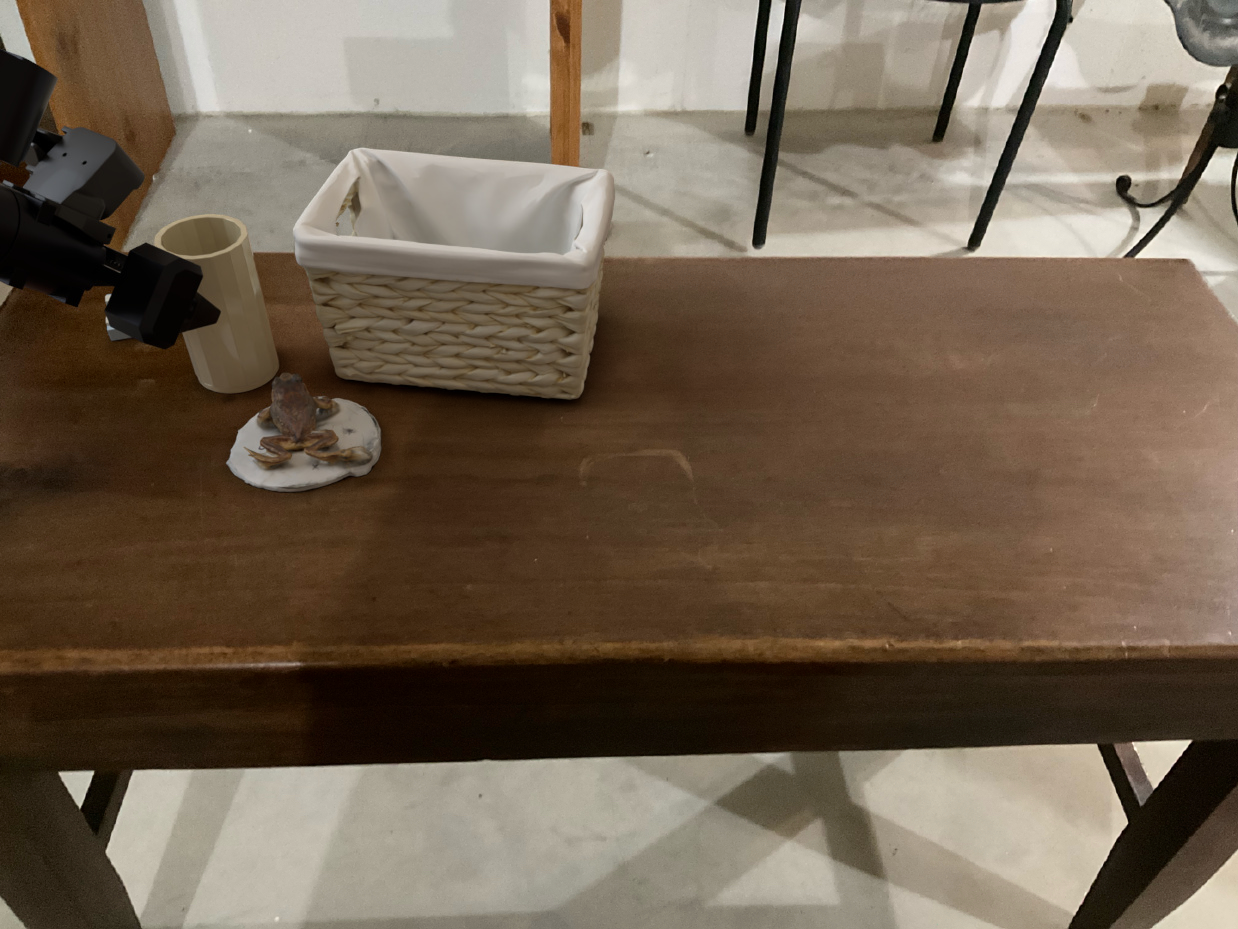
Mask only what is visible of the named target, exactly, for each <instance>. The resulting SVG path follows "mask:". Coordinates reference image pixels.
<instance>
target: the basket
mask: <svg viewBox="0 0 1238 929" xmlns="http://www.w3.org/2000/svg"><path fill="white" fill-rule="evenodd" d="M615 199H616V190H615V178H614V175H613V174H612V173H611V172H610V171H609V170H607V169H605V168H588V167H580V166H572V165H564V164H563V165H562V164H553V163H552V164H551V163H543V162H531V161H530V162H529V161H516V160H501V159H489V158H477V157H476V158H475V157H466V156H465V157H464V156H463V157H462V156H455V155H454V156H453V155H442V154H431V153H425V152H423V153H422V152H411V151H401V150H390V149H378V148H377V149H376V148H369V147H358V148H353V149H350V150H349V151H348V153H347V155H346V156H345V157H344V158H343V159H342V160H341V161H340V162H339V163H338V164H337V166H336V167H335V168H334V170H333V171H332V172H331V173H330V175H329V176H328V178H327V179H326V180H325V182H324V183H323V185H322V186H321V187H320V188H319V190H318V191H317V193H316V194H315V195H314V197H313V198H312V199H311V201H310V202H309V203H308V205H307V206H306V207H305V209H304V210H303V211H302V213H301V215H300V216H299V217H298V219H297V221H296V222H295V224H294V226H293V228H292V236H293V239H294V256H295V260H296V263H297V264H298V265H299V266H300V267H302V268H303V269H304V271H305V272H306V276H307V278H308V284H309V288H310V290H311V292H312V295H311V296H312V299H313V302H314V304H315V313H316V314H315V315H316V318H317V320H318V322H320V324H321V327H322V335H323V339H324V341H325V342H326V343H327V345H328V347H329V348H328V352H329V356H330V359H331V362H332V365H333V367H334V372H335V375H336V376H337V377H339V378H341V379H344V380H352V381H360V382H365V383H371V384H373V383H383V384H384V383H385V384H391V385H395V386H400V385H407V386H416V387H420V388H425V387H427V388H440V389H446V390H449V391H451V390H452V391H453V390H461V391H462V390H463V391H474V392H480V393H485V394H488V393H493V394H494V393H496V394H508V395H510V396H517V397H518V396H528V397H539V398H543V399H560V400H561V399H562V400H569V401H571V400H576V399H577V400H578V399H579V398H580V397H581V395H582V394H583V392H584V389H585V381H586V379H587V375H588V367H589V365H590V361H591V355H590V354H591V353H592V351H593V348H594V343H595V342H594V337H595V334H596V331H597V323H598V319H599V307H600V301H599V300H600V295H601V294H600V292H601V290H602V281H603V277H604V270H603V268H604V261H605V254H606V253H605V245H606V242H607V240H608V235H609V231H610V226H611V223H612V220H613V215H614V207H615ZM346 209H348V210H349V214H350V215H349V221H350V224H351V228H352V232H351V234H350V235H338V232H337V231H338V230H337V228H338V227H339V225H340V223H339V222H338V219H339V218H340V216H342V215H343V214H344V213H345V211H346Z"/></svg>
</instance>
